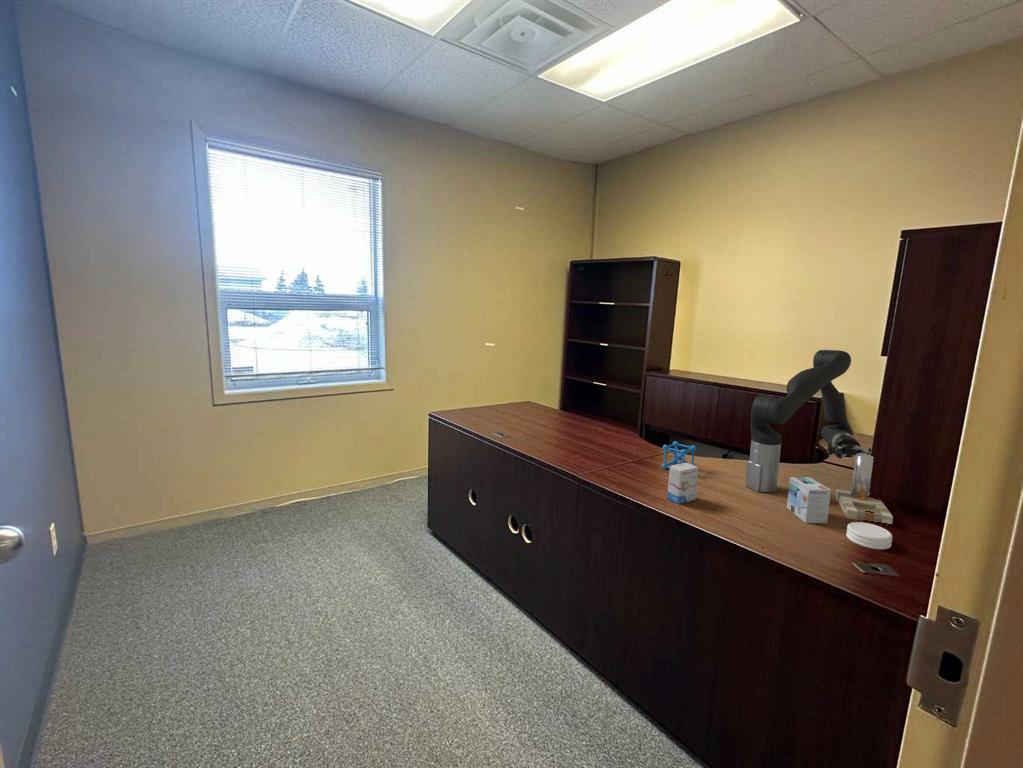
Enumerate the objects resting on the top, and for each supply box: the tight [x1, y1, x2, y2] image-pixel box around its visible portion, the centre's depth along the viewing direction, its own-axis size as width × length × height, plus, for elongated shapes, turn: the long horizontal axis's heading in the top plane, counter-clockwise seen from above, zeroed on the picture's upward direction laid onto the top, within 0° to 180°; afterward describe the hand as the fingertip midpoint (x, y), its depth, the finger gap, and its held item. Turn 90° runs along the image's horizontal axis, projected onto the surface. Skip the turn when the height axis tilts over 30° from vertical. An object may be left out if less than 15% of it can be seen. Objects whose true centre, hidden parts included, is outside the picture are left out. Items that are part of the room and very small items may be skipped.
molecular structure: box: [661, 440, 697, 470], centre depth 185 cm, size 10×10×10 cm
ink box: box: [666, 462, 699, 505], centre depth 155 cm, size 9×5×12 cm, turn 117°
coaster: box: [845, 521, 893, 550], centre depth 129 cm, size 10×10×4 cm
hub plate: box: [835, 488, 894, 525], centre depth 147 cm, size 18×11×3 cm, turn 154°
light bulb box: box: [786, 476, 832, 524], centre depth 143 cm, size 11×7×11 cm, turn 178°
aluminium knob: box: [850, 453, 874, 501], centre depth 149 cm, size 6×5×14 cm
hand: (855, 457), depth 159 cm, fingers open, 8 cm apart
